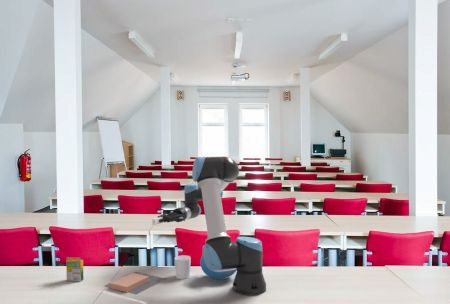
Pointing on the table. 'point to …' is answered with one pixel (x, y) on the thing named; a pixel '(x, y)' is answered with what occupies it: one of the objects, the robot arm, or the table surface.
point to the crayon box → (74, 269)
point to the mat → (152, 281)
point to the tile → (129, 282)
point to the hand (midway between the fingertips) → (153, 221)
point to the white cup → (182, 266)
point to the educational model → (216, 274)
